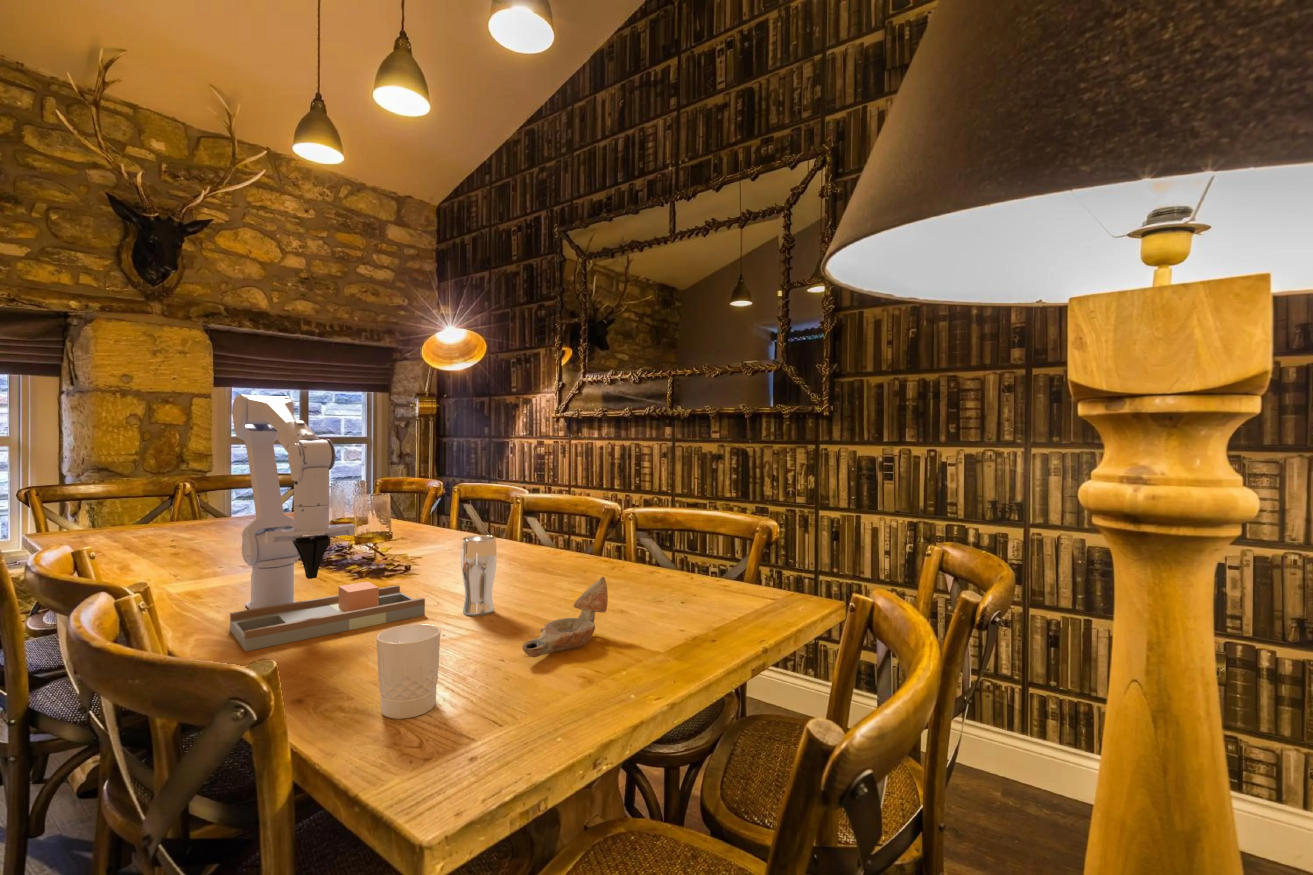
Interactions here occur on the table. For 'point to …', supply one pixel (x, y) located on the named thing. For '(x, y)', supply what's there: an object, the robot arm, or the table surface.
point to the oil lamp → (571, 624)
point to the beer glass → (478, 573)
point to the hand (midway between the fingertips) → (311, 577)
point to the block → (358, 596)
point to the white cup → (408, 669)
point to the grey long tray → (317, 618)
